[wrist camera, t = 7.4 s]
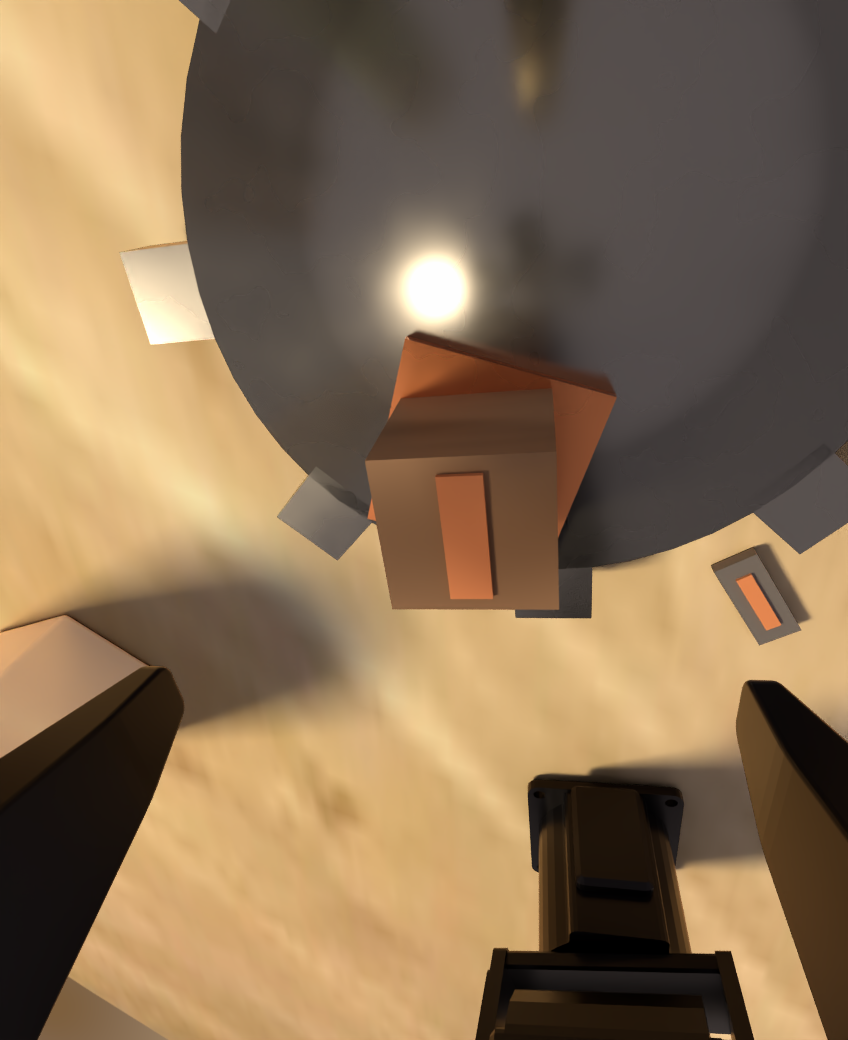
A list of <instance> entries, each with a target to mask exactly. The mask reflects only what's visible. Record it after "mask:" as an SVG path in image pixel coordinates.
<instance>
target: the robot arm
mask: <svg viewBox="0 0 848 1040" xmlns="http://www.w3.org/2000/svg"><path fill="white" fill-rule="evenodd" d="M183 713H184V700H183V698H182V695H181V693H180V691H179V689H178V686H177V684H176V682H175V680H174V677H173V675H172V673H171V671H170V670H169V669H168V668H167V667H164V666H144V667H141V668H139V669H137V670H136V671H134V672H133V673H131V674H130V675H128V676H127V677H125V678H124V679H122V680H120V681H119V682H117V683H116V684H114V685H113V686H111V687H110V688H108V689H106V690H105V691H103V692H102V693H100V694H99V695H97V696H96V697H94V698H93V699H91V700H89V701H88V702H86V703H85V704H83V705H82V706H80V707H79V708H77V709H76V710H74V711H72V712H71V713H69V714H68V715H66V716H65V717H63V718H62V719H60V720H59V721H57V722H55V723H54V724H52V725H51V726H49V727H48V728H46V729H45V730H43V731H41V732H40V733H38V734H37V735H35V736H34V737H32V738H31V739H29V740H28V741H26V742H24V743H23V744H21V745H20V746H18V747H17V748H15V749H14V750H12V751H11V752H9V753H7V754H6V755H4V756H3V757H1V758H0V1040H38V1038H39V1036H40V1034H41V1032H42V1030H43V1028H44V1025H45V1023H46V1021H47V1019H48V1017H49V1015H50V1013H51V1011H52V1009H53V1007H54V1005H55V1002H56V1000H57V998H58V996H59V994H60V992H61V990H62V988H63V986H64V984H65V981H66V979H67V977H68V975H69V973H70V971H71V969H72V967H73V965H74V963H75V960H76V958H77V956H78V954H79V952H80V950H81V948H82V946H83V944H84V942H85V940H86V937H87V935H88V933H89V931H90V929H91V927H92V925H93V923H94V921H95V919H96V916H97V914H98V912H99V910H100V908H101V906H102V904H103V902H104V900H105V898H106V896H107V893H108V891H109V889H110V887H111V885H112V883H113V881H114V879H115V877H116V875H117V872H118V870H119V868H120V866H121V864H122V862H123V860H124V858H125V856H126V854H127V851H128V849H129V847H130V845H131V843H132V841H133V839H134V837H135V835H136V833H137V831H138V828H139V826H140V824H141V822H142V820H143V818H144V816H145V814H146V811H147V809H148V807H149V805H150V803H151V800H152V798H153V795H154V793H155V790H156V788H157V785H158V782H159V780H160V777H161V774H162V771H163V769H164V766H165V763H166V760H167V758H168V755H169V752H170V750H171V747H172V744H173V741H174V739H175V736H176V733H177V730H178V728H179V725H180V722H181V719H182V717H183ZM736 733H737V739H738V744H739V748H740V753H741V757H742V762H743V766H744V771H745V775H746V780H747V784H748V789H749V793H750V798H751V802H752V807H753V811H754V816H755V820H756V825H757V829H758V833H759V837H760V841H761V845H762V849H763V852H764V855H765V858H766V861H767V864H768V867H769V870H770V873H771V876H772V879H773V882H774V885H775V888H776V891H777V894H778V896H779V899H780V902H781V905H782V908H783V911H784V914H785V917H786V920H787V923H788V926H789V928H790V931H791V934H792V937H793V940H794V943H795V946H796V949H797V952H798V955H799V958H800V960H801V963H802V966H803V969H804V972H805V975H806V978H807V981H808V984H809V987H810V990H811V992H812V995H813V998H814V1001H815V1004H816V1007H817V1010H818V1013H819V1016H820V1019H821V1022H822V1024H823V1027H824V1030H825V1033H826V1036H827V1039H828V1040H848V742H847V741H846V740H845V739H844V738H843V737H841V736H840V735H839V734H838V733H837V732H836V731H835V730H833V729H832V728H831V727H830V726H829V725H828V724H827V723H825V722H824V721H823V720H822V719H821V718H820V717H819V716H817V715H816V714H815V713H814V712H813V711H812V710H811V709H809V708H808V707H807V706H806V705H805V704H804V703H803V702H801V701H800V700H799V699H798V698H797V697H796V696H795V695H793V694H792V693H791V692H790V691H789V690H788V689H787V688H785V687H784V686H783V685H782V684H780V683H778V682H776V681H767V680H749V681H746V682H745V683H744V685H743V687H742V692H741V697H740V703H739V708H738V713H737V719H736ZM528 806H529V823H530V840H531V857H532V868H533V869H534V870H535V871H536V872H539V951H509V950H508V948H494V949H493V954H492V960H491V966H490V970H488V971H487V976H486V982H485V987H484V993H483V999H482V1005H481V1011H480V1016H479V1022H478V1028H477V1034H476V1039H475V1040H722V1039H721V1038H711V1037H710V1033H716V1034H731V1038H732V1040H754V1037H753V1034H752V1030H751V1026H750V1022H749V1018H748V1015H747V1011H746V1007H745V1003H744V999H743V996H742V992H741V988H740V984H739V980H738V977H737V973H736V969H735V965H734V961H733V958H732V954H731V951H715V954H692V952H691V947H690V942H689V937H688V932H687V927H686V922H685V917H684V911H683V906H682V901H681V896H680V891H679V886H678V881H677V876H676V870H675V865H676V857H677V850H678V843H679V836H680V829H681V821H682V814H683V807H684V802H683V797H682V793H681V792H680V790H678V789H676V788H672V787H657V786H640V785H623V784H606V783H589V782H572V781H555V780H533V781H531V782H530V783H529V784H528Z"/></svg>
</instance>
